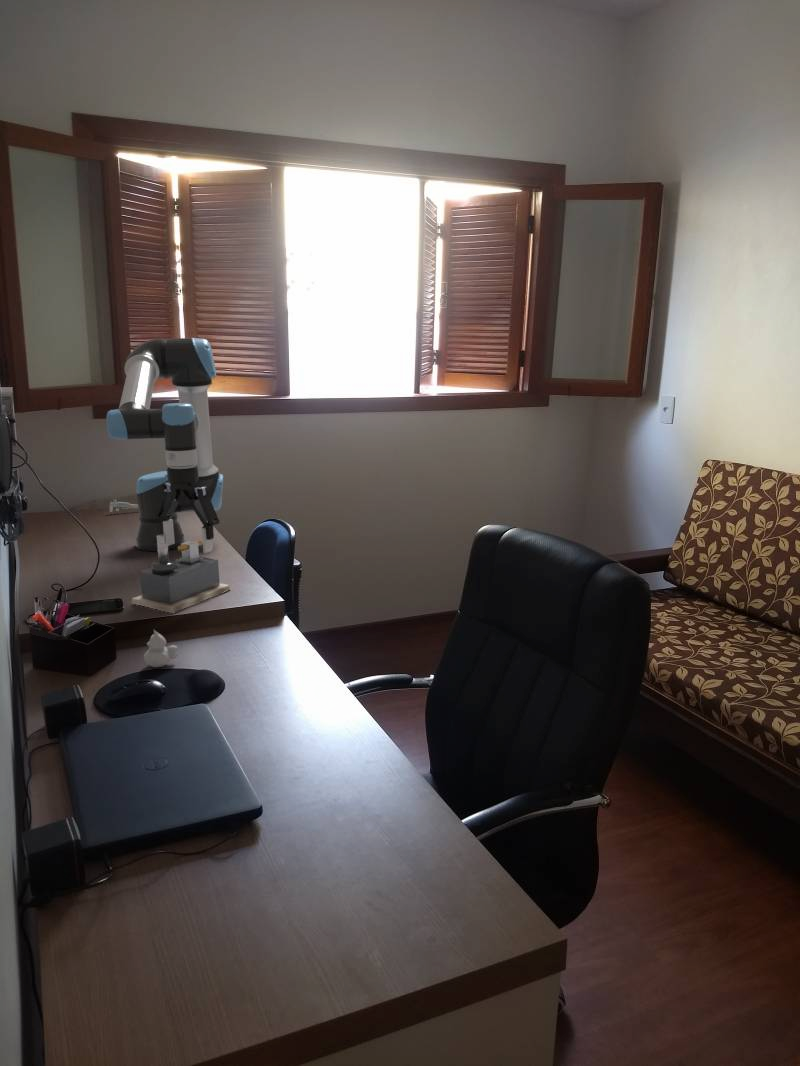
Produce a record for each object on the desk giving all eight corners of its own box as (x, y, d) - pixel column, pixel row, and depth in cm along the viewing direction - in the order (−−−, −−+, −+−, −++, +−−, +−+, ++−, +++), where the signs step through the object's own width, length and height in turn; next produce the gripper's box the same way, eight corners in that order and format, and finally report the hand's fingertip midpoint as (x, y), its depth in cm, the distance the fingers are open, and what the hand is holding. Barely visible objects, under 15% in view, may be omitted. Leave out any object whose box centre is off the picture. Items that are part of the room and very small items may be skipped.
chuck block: (191, 579, 206) (187, 521, 202) (219, 585, 201) (215, 526, 197) (142, 598, 191) (136, 536, 187) (170, 604, 186) (165, 541, 182)
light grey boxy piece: (197, 575, 202) (195, 539, 200) (206, 577, 201) (203, 540, 198) (178, 582, 197) (175, 545, 194) (186, 584, 195) (183, 546, 193)
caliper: (110, 515, 288) (108, 499, 287) (110, 515, 289) (108, 499, 288) (165, 510, 298) (164, 494, 296) (165, 509, 298) (164, 493, 297)
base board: (191, 582, 208) (190, 577, 208) (229, 590, 201) (229, 585, 201) (132, 604, 191) (131, 598, 191) (172, 613, 185) (171, 607, 184)
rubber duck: (144, 662, 157) (140, 626, 155) (177, 657, 159) (174, 621, 157) (145, 673, 152) (142, 635, 150) (180, 667, 154) (177, 630, 152)
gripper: (135, 464, 194) (143, 545, 199) (208, 472, 182) (214, 558, 187) (158, 460, 200) (165, 538, 205) (230, 467, 188) (235, 550, 193)
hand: (188, 548), depth 196 cm, fingers open, 13 cm apart
